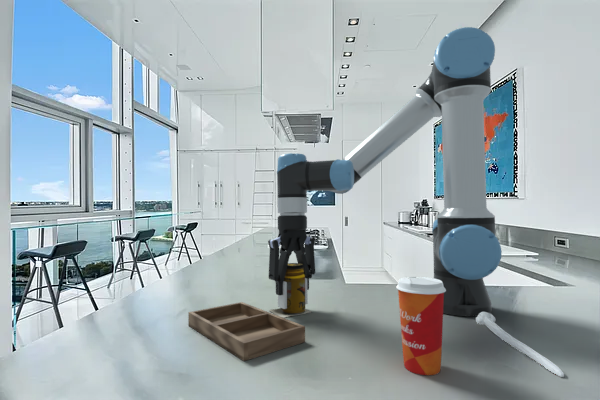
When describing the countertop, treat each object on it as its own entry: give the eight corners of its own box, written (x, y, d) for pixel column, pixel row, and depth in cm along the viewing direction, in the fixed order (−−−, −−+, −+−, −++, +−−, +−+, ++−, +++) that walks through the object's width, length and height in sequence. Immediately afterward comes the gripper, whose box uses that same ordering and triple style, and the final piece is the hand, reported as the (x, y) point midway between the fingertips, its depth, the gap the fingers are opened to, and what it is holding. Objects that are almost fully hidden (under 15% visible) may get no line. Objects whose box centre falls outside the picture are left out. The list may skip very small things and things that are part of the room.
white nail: (584, 381, 53) (583, 362, 53) (556, 380, 53) (555, 361, 53) (491, 322, 81) (491, 310, 81) (473, 322, 81) (472, 309, 81)
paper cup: (390, 358, 60) (389, 276, 61) (433, 356, 61) (432, 275, 61) (408, 380, 52) (406, 286, 53) (457, 377, 53) (455, 284, 54)
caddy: (305, 341, 68) (305, 326, 68) (243, 361, 60) (243, 343, 60) (241, 314, 87) (241, 302, 87) (188, 325, 79) (188, 312, 79)
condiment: (312, 312, 88) (311, 264, 89) (283, 318, 84) (282, 267, 84) (296, 306, 94) (296, 261, 95) (268, 311, 90) (268, 264, 90)
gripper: (310, 214, 99) (311, 296, 98) (252, 215, 87) (253, 309, 86) (329, 214, 93) (330, 301, 93) (269, 215, 81) (270, 316, 81)
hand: (293, 305), depth 90 cm, fingers closed on condiment, 6 cm apart
